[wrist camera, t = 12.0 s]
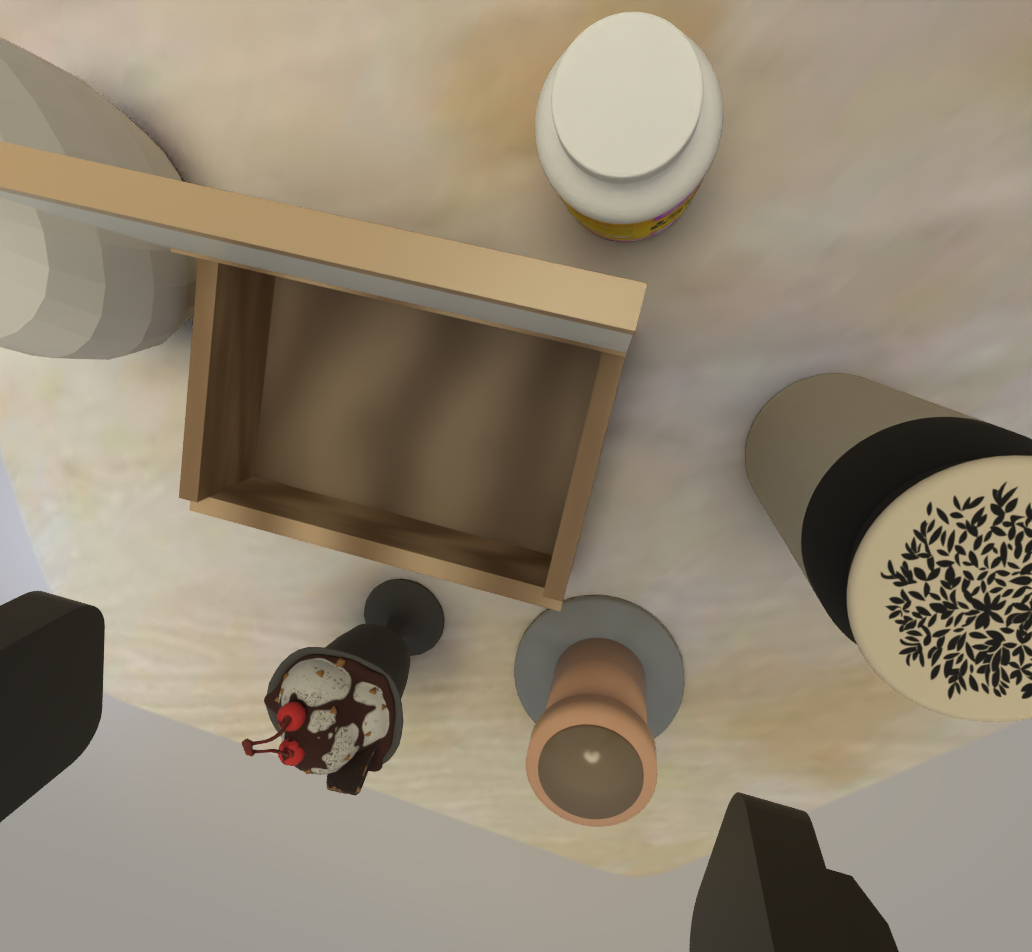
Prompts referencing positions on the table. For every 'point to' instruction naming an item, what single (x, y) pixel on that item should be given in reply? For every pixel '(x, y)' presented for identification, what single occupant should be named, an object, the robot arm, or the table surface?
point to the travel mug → (908, 536)
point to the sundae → (352, 689)
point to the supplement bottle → (629, 125)
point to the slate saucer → (609, 622)
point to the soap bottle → (80, 230)
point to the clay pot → (594, 737)
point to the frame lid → (329, 248)
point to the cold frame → (393, 429)
